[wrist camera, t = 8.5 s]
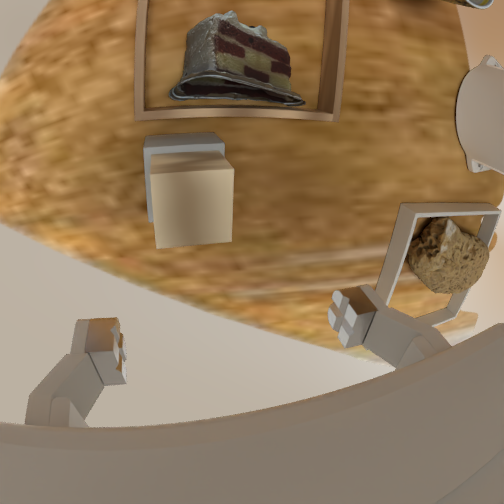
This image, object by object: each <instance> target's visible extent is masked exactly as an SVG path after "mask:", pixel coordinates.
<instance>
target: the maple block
mask: <svg viewBox="0 0 504 504" xmlns="http://www.w3.org/2000/svg"><path fill="white" fill-rule="evenodd" d="M150 181H151V195H152V208H153V220H154V230H155V240H156V249H162V248H172V247H182V246H192V245H202V244H212V243H223V242H232V216H233V188H234V168H233V167H232V166H231V165H230V163H229V162H228V161H227V160H226V159H225V157H224V156H223V155H222V154H221V153H220V151H219V150H216V151H194V152H177V153H163V154H151V167H150Z"/></svg>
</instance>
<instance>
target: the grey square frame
mask: <svg viewBox="0 0 504 504" xmlns="http://www.w3.org/2000/svg"><path fill="white" fill-rule="evenodd" d="M500 214H501V210H499V209H498V208H496V207H495V206H493V205H492V204H490V203H401V205H400V209H399V213H398V216H397V220H396V224H395V228H394V231H393V235H392V238H391V242H390V245H389V249H388V252H387V255H386V258H385V262H384V265H383V268H382V271H381V274H380V277H379V280H378V283H377V286H376V289H375V292H376V293H377V295H378V296H379V297H380V298H381V299H382V300H383V302H384V303H385V304H386V305H387V306H388V304H389V301H390V299H391V296H392V293H393V291H394V288H395V285H396V283H397V280H398V277H399V274H400V271H401V269H402V266H403V263H404V260H405V257H406V254H407V251H408V248H409V245H410V241H411V238H412V235H413V232H414V228H415V225H416V221H417V218H420V217H440V216H461V215H484V218H483V221H482V224H481V227H480V230H479V233H478V235H477V237H478V238H480V239H481V240H482V241H483V242H484V243H485V244H486V245H487V246H488V247H489V245H490V242H491V239H492V237H493V234H494V231H495V229H496V226H497V223H498V220H499V217H500ZM470 288H471V287H470ZM470 288H468V289H467V290H465V291H463V292H461V293H458V294H456V293H453V295H452V297H451V299H450V302H449V304H448V306H447V308H444V309H441V310H438V311H435V312H433V313H430V314H427V315H424V316H421V317H418V318H415V319H417V320H419V321H421V322H423V323H426V324H428V325H430V326H432V327H434V326H437V325H440V324H442V323H445V322H447V321H450V320H452V319H454V318H456V316H457V314H458V313H459V311H460V309H461V307H462V305H463V303H464V301H465V299H466V297H467V295H468V293H469V291H470ZM362 345H363V344H362ZM364 348H365V349H366V350H369V349H367V348H366V347H364Z"/></svg>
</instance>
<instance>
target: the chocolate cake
mask: <svg viewBox="0 0 504 504" xmlns="http://www.w3.org/2000/svg"><path fill="white" fill-rule="evenodd" d="M186 42H187V50H186V52H185V61H184V62H185V64H184V71H183V77H182V78H181V80H180V82H178V84H177V85H176V86H175V87H174V88H172V89H171V90H170V92H169V97H170V98H172V100H179V101H184V100H187V99H232V100H241V99H245V100H247V99H250V100H256V101H268V102H276V103H284V104H285V105H287V106H302V105H306V102H305V101H303V100H302V99H301V97H300V95H299V94H296V93H294V92H291V84H290V81H289V78H290V76H291V67H290V56H289V53H288V51H287V48H286V47H284V46H283V45H281V44H280V43H278V42H276V41H272V40H271V39H269V38H268V37H267V30H266V28H265V27H263V26H258V27H254V26H250V27H248V26H247V25H244V24H242V23H239V21H238V19H237V15H236V13H235V12H234V11H229V12H227V13H226V14H224V15H222V14H214V15H213V16H211V17H208V18H206V19H205V20H203V21H201V22H199V23H198V24H197V25H196V26H195V27H194V28H193V29H191V30H190V31H189V32H188V33H187V41H186Z"/></svg>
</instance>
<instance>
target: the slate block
mask: <svg viewBox="0 0 504 504" xmlns="http://www.w3.org/2000/svg"><path fill="white" fill-rule="evenodd" d="M216 150H219V151H220V153H221V154H222V155H223V156H224V154H225V143H224V142H223V141H222V140H221V139H220V138H219V137H218V136H217V135H216V134H215V133H214V132H202V133H180V134H165V135H151V136H146V137H145V142H144V148H143V151H144V169H145V184H146V197H147V209H148V219H149V223H150V222H154V220H153V208H152V195H151V181H150V167H151V154H163V153H177V152H194V151H216Z"/></svg>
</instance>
